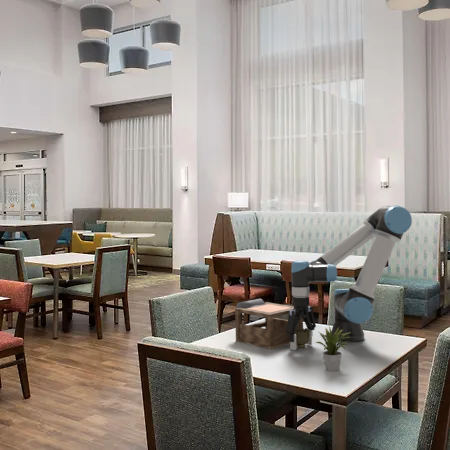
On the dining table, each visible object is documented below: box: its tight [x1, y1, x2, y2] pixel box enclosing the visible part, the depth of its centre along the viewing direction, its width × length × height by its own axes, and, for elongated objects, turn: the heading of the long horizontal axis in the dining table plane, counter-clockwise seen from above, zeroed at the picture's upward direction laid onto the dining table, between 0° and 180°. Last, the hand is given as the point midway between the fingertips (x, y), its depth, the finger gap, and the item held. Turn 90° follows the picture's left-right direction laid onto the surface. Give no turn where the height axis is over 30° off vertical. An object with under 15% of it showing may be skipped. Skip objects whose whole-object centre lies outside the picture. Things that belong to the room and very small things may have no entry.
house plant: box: [315, 326, 352, 372], centre depth 209 cm, size 14×14×16 cm
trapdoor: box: [235, 298, 290, 314], centre depth 260 cm, size 22×15×5 cm
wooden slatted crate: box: [234, 301, 304, 350], centre depth 257 cm, size 22×22×15 cm
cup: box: [295, 327, 310, 349], centre depth 243 cm, size 8×7×8 cm
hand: (301, 346), depth 244 cm, fingers open, 10 cm apart
